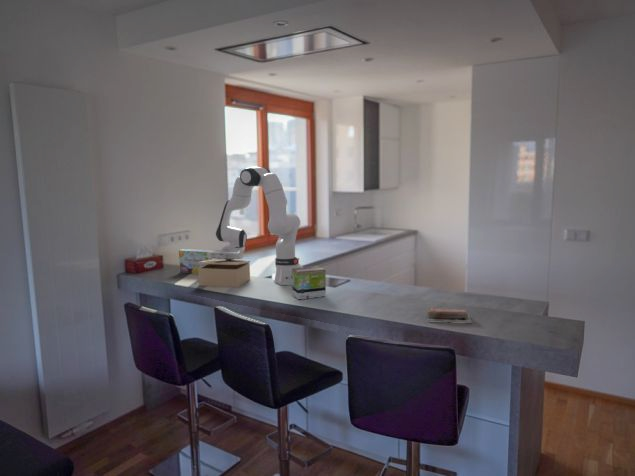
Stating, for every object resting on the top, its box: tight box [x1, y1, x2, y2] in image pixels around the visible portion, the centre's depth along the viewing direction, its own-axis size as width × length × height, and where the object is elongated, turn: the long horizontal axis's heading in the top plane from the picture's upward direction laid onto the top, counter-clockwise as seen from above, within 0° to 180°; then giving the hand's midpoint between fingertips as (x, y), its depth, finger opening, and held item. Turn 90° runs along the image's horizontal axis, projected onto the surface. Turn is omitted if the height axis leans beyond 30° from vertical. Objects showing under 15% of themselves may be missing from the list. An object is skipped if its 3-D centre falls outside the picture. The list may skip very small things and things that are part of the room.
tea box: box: [291, 265, 327, 300], centre depth 240 cm, size 15×10×15 cm
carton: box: [197, 262, 251, 288], centre depth 273 cm, size 24×18×10 cm
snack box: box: [178, 248, 213, 275], centre depth 299 cm, size 21×6×15 cm, turn 73°
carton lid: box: [198, 259, 251, 265], centre depth 272 cm, size 24×19×1 cm
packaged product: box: [426, 307, 473, 324], centre depth 201 cm, size 18×5×10 cm
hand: (218, 257), depth 266 cm, fingers closed
